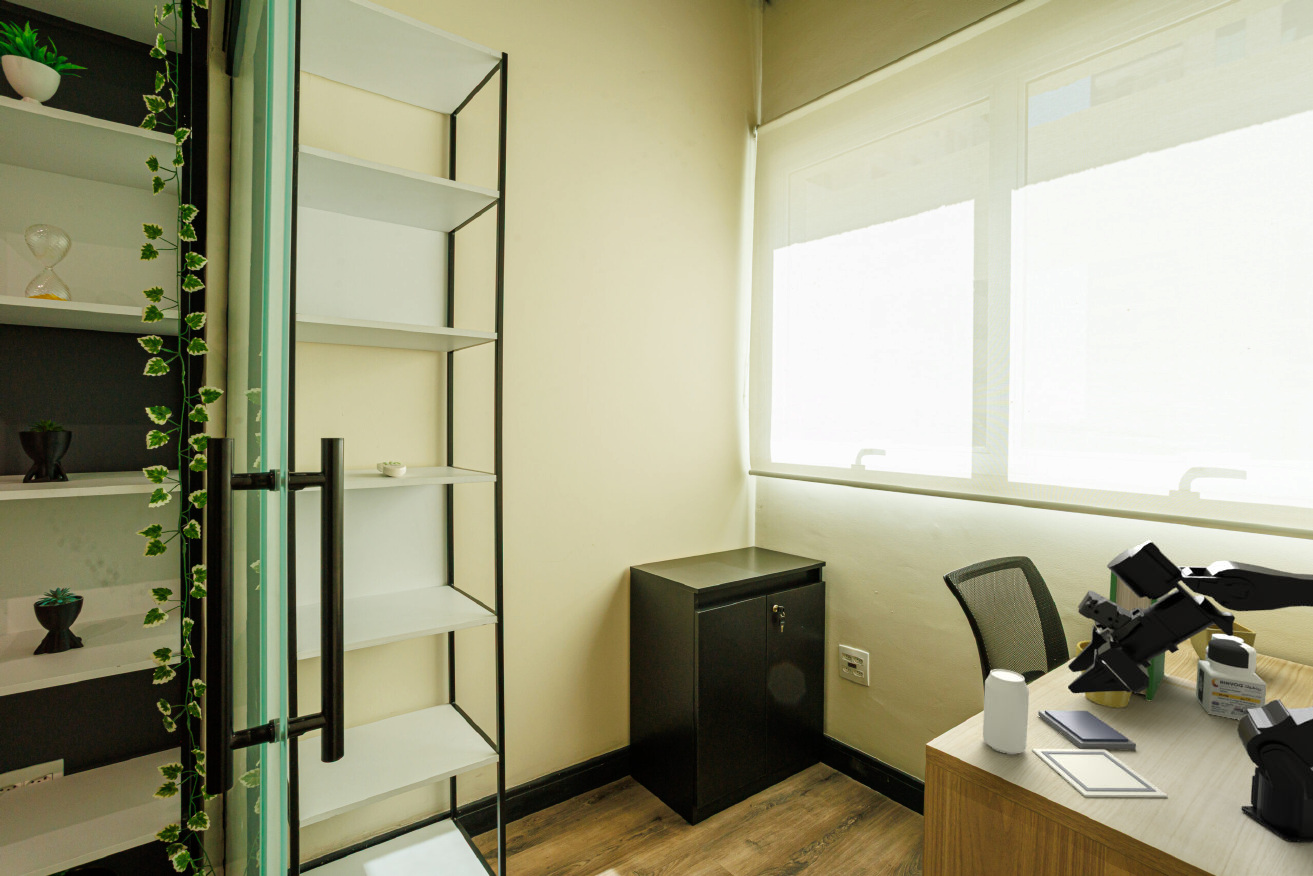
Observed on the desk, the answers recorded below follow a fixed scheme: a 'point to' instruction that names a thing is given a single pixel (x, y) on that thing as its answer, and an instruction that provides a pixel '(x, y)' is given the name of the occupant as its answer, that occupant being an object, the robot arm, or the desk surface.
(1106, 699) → the plant pot
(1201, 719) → the desk surface
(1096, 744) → the ink pad
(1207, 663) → the container
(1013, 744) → the beverage can
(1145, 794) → the print card
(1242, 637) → the flower pot
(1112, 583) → the hardback book
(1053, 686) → the desk surface
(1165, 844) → the desk surface
